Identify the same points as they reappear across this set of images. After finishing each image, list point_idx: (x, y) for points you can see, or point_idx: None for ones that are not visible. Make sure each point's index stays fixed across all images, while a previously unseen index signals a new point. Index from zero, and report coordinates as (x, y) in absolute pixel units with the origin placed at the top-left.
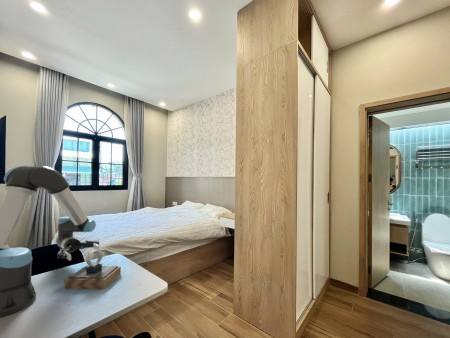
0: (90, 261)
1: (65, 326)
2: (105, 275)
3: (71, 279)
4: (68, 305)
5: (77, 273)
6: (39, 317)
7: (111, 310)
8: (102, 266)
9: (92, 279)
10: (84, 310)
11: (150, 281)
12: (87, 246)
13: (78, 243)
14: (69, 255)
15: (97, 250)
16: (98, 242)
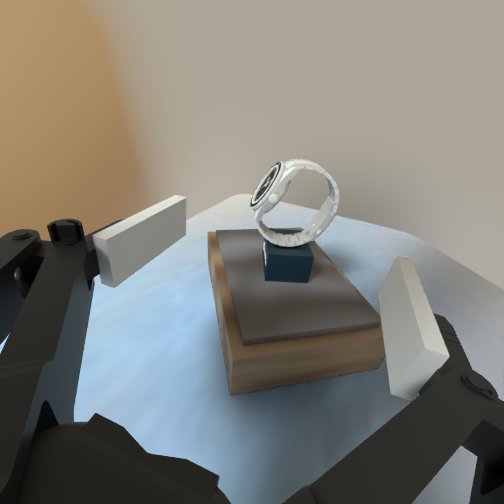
0: (322, 207)
1: (413, 244)
2: (289, 228)
3: (371, 306)
4: None
5: (335, 310)
6: (467, 299)
7: (338, 218)
8: (231, 266)
9: (320, 249)
10: (371, 245)
11: (229, 207)
12: (76, 341)
13: (3, 498)
14: (409, 261)
15: (290, 161)
16: (35, 237)
